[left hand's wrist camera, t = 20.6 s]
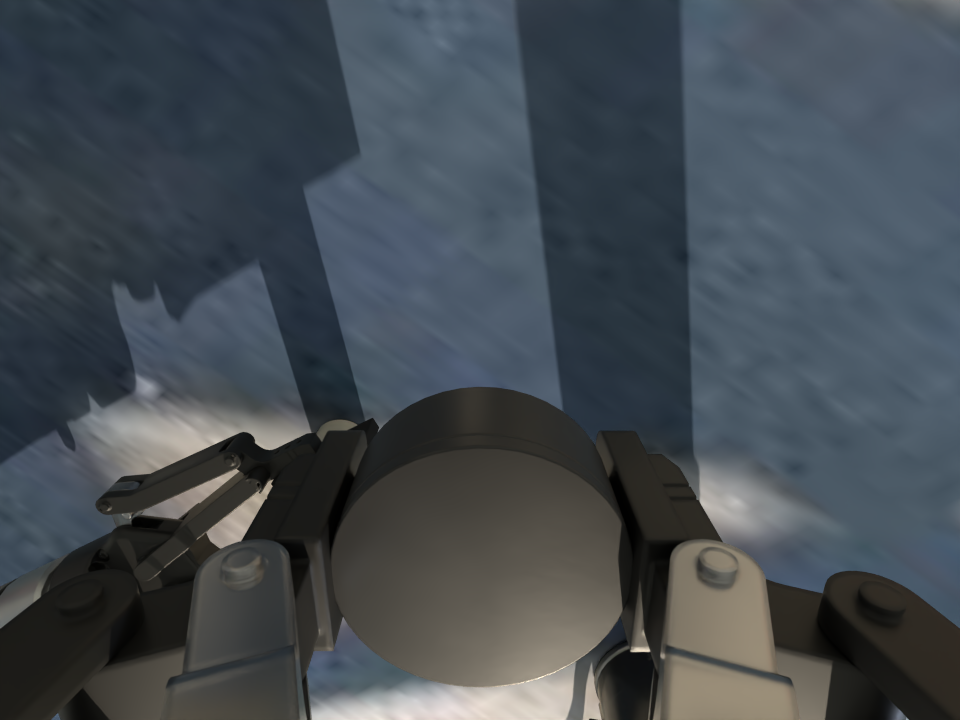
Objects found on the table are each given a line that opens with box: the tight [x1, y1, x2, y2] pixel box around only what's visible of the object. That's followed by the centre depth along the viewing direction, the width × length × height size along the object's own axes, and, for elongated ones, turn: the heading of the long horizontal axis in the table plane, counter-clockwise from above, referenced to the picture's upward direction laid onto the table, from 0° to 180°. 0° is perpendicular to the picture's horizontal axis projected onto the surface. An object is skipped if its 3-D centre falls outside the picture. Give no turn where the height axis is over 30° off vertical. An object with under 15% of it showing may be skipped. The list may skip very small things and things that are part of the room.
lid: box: [330, 387, 633, 687], centre depth 10 cm, size 5×5×2 cm
